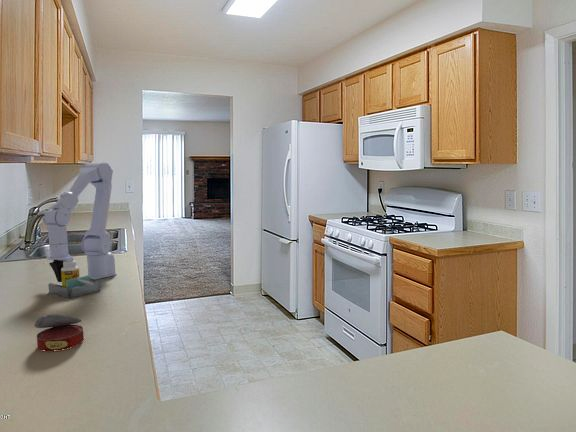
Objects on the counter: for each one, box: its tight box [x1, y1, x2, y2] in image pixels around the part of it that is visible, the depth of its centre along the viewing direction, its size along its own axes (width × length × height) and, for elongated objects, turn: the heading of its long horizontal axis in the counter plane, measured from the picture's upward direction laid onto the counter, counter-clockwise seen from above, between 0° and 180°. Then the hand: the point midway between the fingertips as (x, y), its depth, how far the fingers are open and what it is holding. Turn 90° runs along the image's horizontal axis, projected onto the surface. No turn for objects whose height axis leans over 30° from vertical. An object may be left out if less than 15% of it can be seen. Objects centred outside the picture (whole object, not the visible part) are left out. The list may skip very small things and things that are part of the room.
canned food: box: [34, 314, 85, 351], centre depth 105 cm, size 11×10×10 cm
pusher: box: [66, 274, 93, 288], centre depth 147 cm, size 8×9×5 cm
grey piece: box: [48, 279, 101, 299], centre depth 151 cm, size 11×14×3 cm
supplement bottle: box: [61, 260, 81, 287], centre depth 152 cm, size 6×6×10 cm
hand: (61, 281), depth 156 cm, fingers closed
